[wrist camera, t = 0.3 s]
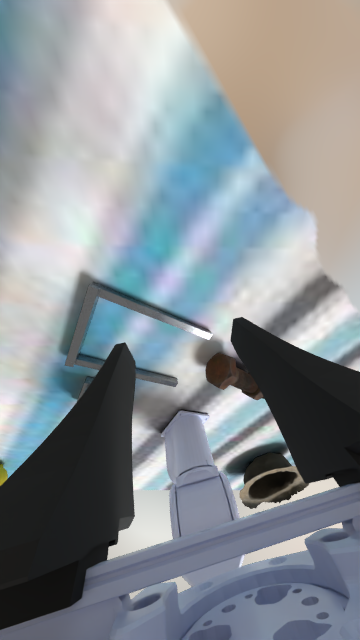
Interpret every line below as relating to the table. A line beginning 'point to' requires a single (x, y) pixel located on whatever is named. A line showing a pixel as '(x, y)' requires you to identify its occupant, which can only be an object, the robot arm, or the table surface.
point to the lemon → (3, 474)
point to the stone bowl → (270, 480)
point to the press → (118, 298)
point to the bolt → (231, 376)
